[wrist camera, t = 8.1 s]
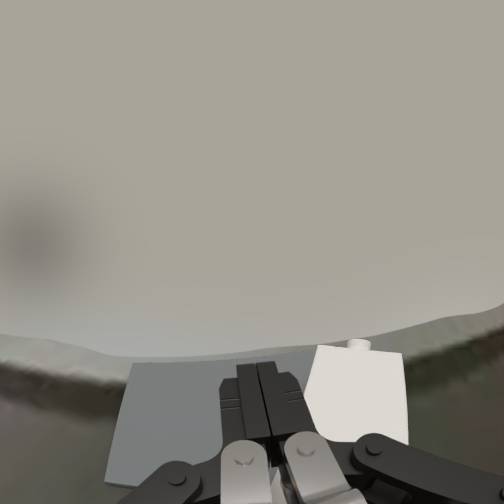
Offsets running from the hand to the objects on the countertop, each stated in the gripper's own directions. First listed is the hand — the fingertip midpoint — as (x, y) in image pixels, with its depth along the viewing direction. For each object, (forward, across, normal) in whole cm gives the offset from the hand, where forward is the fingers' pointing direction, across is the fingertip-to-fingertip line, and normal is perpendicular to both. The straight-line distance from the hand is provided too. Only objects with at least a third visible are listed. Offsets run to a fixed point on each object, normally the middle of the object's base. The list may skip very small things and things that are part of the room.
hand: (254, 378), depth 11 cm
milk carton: (-6, -3, +10) cm, 12 cm away
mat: (+9, 0, +14) cm, 17 cm away
